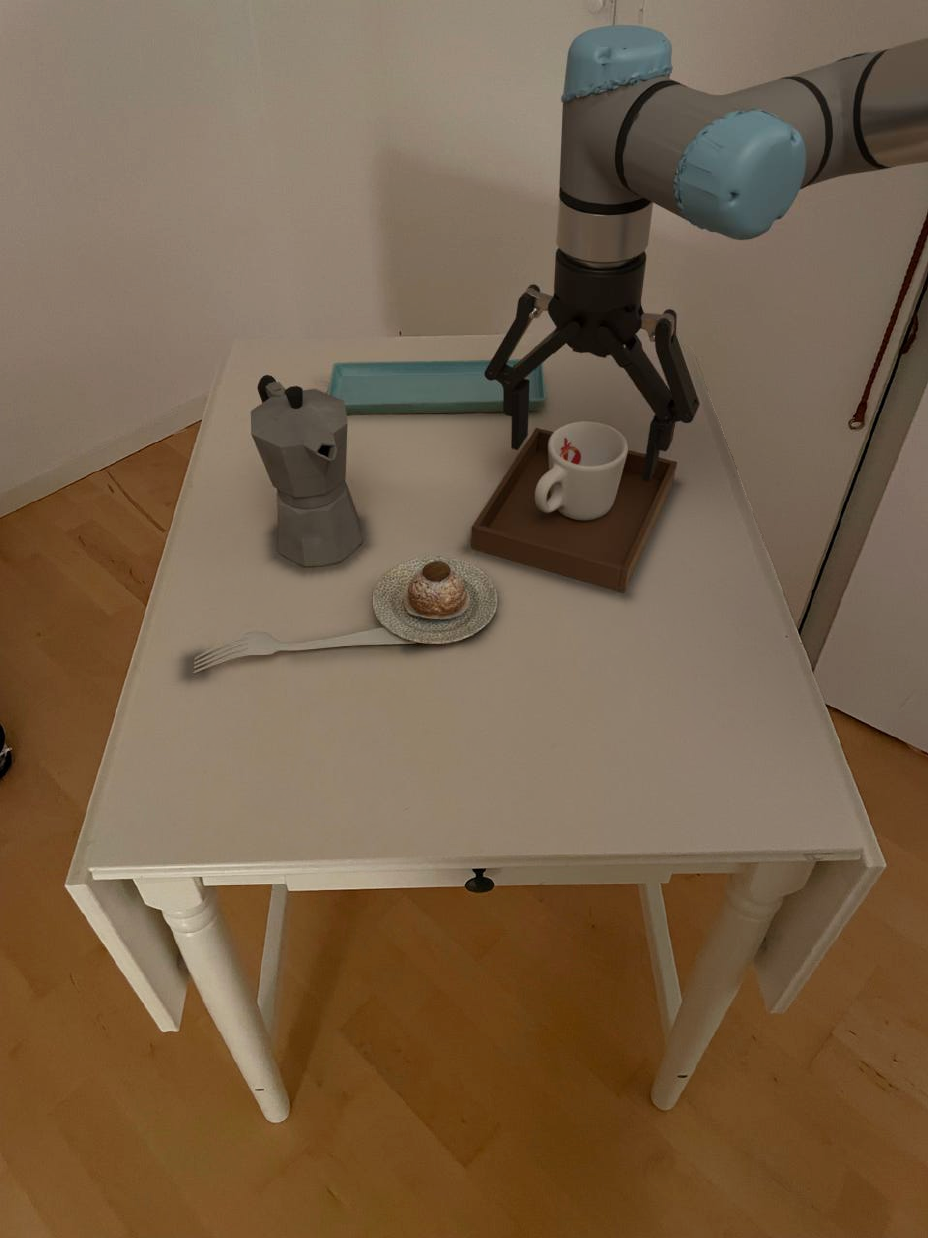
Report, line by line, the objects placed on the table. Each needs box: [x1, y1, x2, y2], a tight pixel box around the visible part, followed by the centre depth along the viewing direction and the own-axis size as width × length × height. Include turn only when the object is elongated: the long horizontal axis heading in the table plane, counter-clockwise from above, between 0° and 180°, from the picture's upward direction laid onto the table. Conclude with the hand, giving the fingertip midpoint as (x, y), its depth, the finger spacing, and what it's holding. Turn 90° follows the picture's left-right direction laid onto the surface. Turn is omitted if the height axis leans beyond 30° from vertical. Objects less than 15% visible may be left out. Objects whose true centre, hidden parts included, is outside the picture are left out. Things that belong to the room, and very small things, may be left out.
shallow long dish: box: [327, 358, 547, 415], centre depth 111 cm, size 26×9×2 cm, turn 89°
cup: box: [535, 420, 629, 521], centre depth 94 cm, size 11×8×8 cm
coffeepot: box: [250, 374, 363, 568], centre depth 89 cm, size 15×9×18 cm, turn 32°
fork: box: [193, 626, 418, 674], centre depth 85 cm, size 3×21×3 cm, turn 99°
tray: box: [471, 427, 678, 594], centre depth 96 cm, size 16×18×3 cm
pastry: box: [371, 555, 498, 645], centre depth 86 cm, size 12×12×5 cm
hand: (583, 457), depth 91 cm, fingers open, 13 cm apart
